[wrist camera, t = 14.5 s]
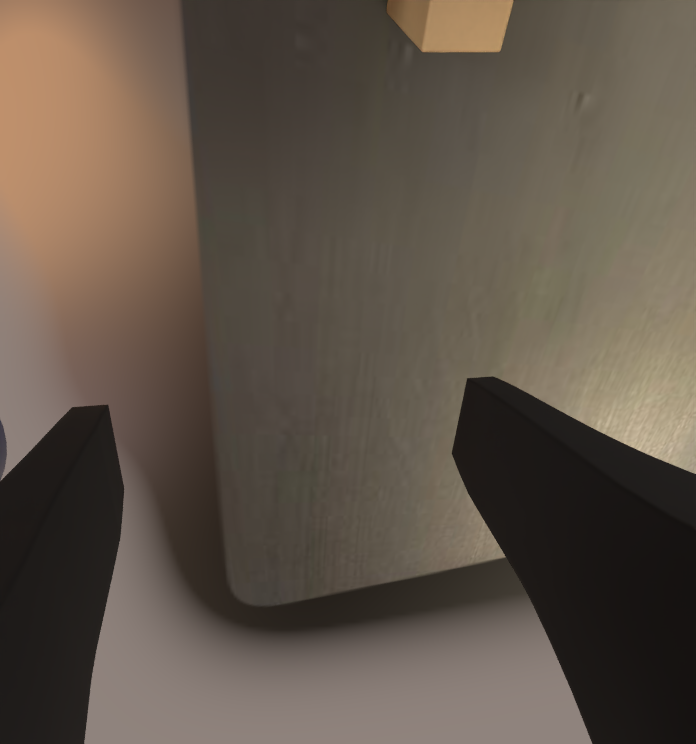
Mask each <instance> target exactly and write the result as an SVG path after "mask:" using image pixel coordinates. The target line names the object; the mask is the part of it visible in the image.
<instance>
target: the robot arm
mask: <svg viewBox="0 0 696 744" xmlns="http://www.w3.org/2000/svg"><path fill="white" fill-rule="evenodd" d="M452 455H453V458H454V460H455V463H456V465H457V468H458V470H459V473H460V475H461V478H462V480H463V482H464V485H465V487H466V489H467V491H468V493H469V495H470V497H471V499H472V501H473V502H474V504H475V506H476V507H477V509H478V511H479V512H480V514H481V516H482V518H483V519H484V521H485V523H486V524H487V526H488V528H489V529H490V531H491V533H492V534H493V536H494V538H495V539H496V541H497V543H498V544H499V546H500V548H501V549H502V551H503V553H504V554H505V556H506V558H507V559H508V561H509V563H510V564H511V566H512V568H513V569H514V571H515V573H516V574H517V576H518V578H519V579H520V581H521V583H522V585H523V587H524V588H525V590H526V592H527V594H528V596H529V598H530V600H531V602H532V604H533V606H534V608H535V610H536V612H537V614H538V617H539V619H540V621H541V623H542V625H543V627H544V629H545V631H546V634H547V636H548V638H549V640H550V642H551V644H552V647H553V649H554V651H555V654H556V656H557V658H558V660H559V663H560V665H561V667H562V670H563V672H564V674H565V677H566V679H567V681H568V684H569V686H570V688H571V691H572V693H573V695H574V698H575V701H576V703H577V705H578V708H579V711H580V713H581V716H582V718H583V721H584V723H585V726H586V728H587V731H588V733H589V736H590V739H591V741H592V744H696V474H694V473H691V472H689V471H686V470H684V469H681V468H679V467H676V466H674V465H671V464H669V463H666V462H664V461H662V460H659V459H657V458H654V457H652V456H650V455H647V454H645V453H643V452H641V451H638V450H636V449H634V448H632V447H630V446H628V445H626V444H623V443H621V442H619V441H617V440H615V439H613V438H611V437H609V436H607V435H605V434H603V433H601V432H599V431H597V430H595V429H593V428H591V427H589V426H587V425H585V424H583V423H581V422H580V421H578V420H576V419H574V418H572V417H570V416H568V415H566V414H565V413H563V412H561V411H559V410H557V409H555V408H554V407H552V406H550V405H548V404H546V403H544V402H543V401H541V400H539V399H537V398H535V397H533V396H532V395H530V394H528V393H526V392H524V391H522V390H520V389H518V388H517V387H515V386H513V385H511V384H509V383H507V382H504V381H502V380H500V379H498V378H495V377H480V378H467V382H466V387H465V392H464V397H463V402H462V406H461V411H460V416H459V421H458V426H457V431H456V436H455V440H454V445H453V450H452ZM123 498H124V485H123V481H122V475H121V470H120V465H119V459H118V454H117V450H116V444H115V438H114V433H113V428H112V423H111V418H110V412H109V407H108V405H98V406H84V407H72V408H71V409H70V410H69V411H68V412H67V413H66V414H65V415H64V416H63V417H62V418H61V419H60V420H59V421H58V422H57V423H56V424H55V426H54V427H53V428H52V429H51V430H50V431H49V432H48V433H47V434H46V435H45V436H44V437H43V438H42V439H41V441H39V443H38V444H37V445H36V446H35V447H34V448H33V449H32V450H31V451H30V452H29V453H28V454H27V455H26V456H25V457H24V458H23V459H22V460H21V461H20V462H19V463H18V464H17V465H16V466H15V467H14V468H13V469H12V470H11V471H10V472H9V473H8V474H7V475H6V476H5V477H4V478H3V479H2V480H1V481H0V744H84V740H85V730H86V722H87V713H88V704H89V695H90V685H91V678H92V672H93V666H94V660H95V654H96V649H97V644H98V640H99V635H100V630H101V626H102V621H103V616H104V611H105V607H106V602H107V597H108V593H109V589H110V584H111V579H112V575H113V570H114V565H115V560H116V556H117V551H118V546H119V541H120V534H121V524H122V511H123Z"/></svg>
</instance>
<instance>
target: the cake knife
mask: <svg viewBox="0 0 696 744" xmlns="http://www.w3.org/2000/svg"><path fill="white" fill-rule="evenodd" d="M513 1H514V0H388V2H387V10H386V11H387V14H388V15H389V16H390V17H391V18H392V19H393V20H394V21H395V23H396V24H397V25H398V26H399V27H400V28H401V29H402V30H403V31H404V33H405V34H406V35H407V36H408V37H409V38H410V39H411V40H412V41H413V43H414V44H415V45H416V46H417V47H418V48H419V49H420V50H421V51H422V52H500V50H501V47H502V43H503V39H504V35H505V32H506V28H507V24H508V20H509V16H510V13H511V9H512V5H513Z"/></svg>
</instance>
